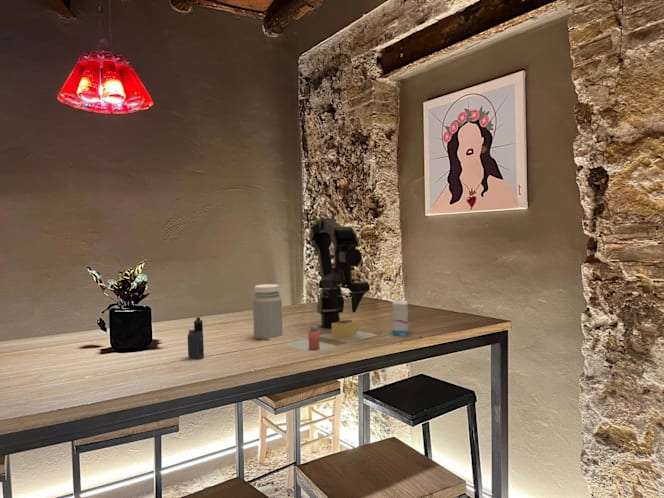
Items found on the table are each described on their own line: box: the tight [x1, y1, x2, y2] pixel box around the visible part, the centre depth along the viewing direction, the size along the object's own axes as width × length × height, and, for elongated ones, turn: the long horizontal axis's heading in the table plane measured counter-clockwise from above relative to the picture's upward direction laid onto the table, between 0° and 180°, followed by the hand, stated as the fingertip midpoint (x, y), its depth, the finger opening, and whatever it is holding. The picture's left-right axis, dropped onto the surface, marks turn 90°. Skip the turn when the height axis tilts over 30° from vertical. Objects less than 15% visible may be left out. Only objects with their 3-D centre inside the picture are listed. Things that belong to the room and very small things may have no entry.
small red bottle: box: [308, 324, 320, 351], centre depth 144 cm, size 3×3×7 cm
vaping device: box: [187, 316, 205, 360], centre depth 141 cm, size 3×5×12 cm, turn 58°
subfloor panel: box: [280, 330, 377, 353], centre depth 156 cm, size 14×30×1 cm, turn 134°
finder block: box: [331, 319, 358, 338], centre depth 161 cm, size 4×8×5 cm, turn 134°
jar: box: [252, 283, 283, 341], centre depth 165 cm, size 10×10×18 cm
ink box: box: [392, 299, 409, 337], centre depth 163 cm, size 9×5×12 cm, turn 168°
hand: (343, 310), depth 161 cm, fingers open, 9 cm apart
